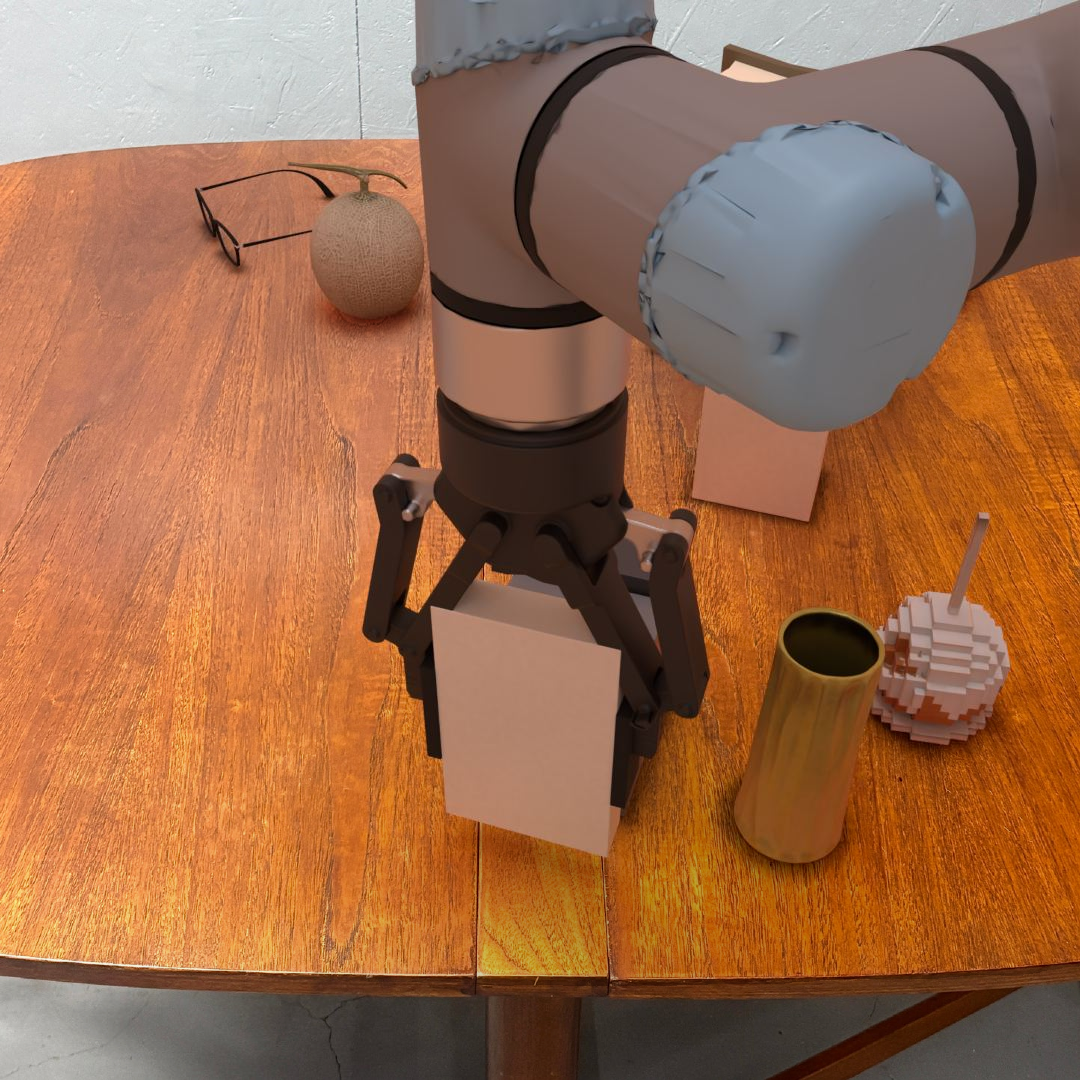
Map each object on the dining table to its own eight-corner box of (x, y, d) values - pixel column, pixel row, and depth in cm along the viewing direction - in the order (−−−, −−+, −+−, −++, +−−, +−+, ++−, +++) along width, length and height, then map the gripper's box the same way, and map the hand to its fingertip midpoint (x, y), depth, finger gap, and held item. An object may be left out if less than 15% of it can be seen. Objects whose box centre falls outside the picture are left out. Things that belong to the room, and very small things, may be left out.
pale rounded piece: (858, 649, 76) (907, 466, 66) (979, 666, 75) (1047, 482, 65) (861, 738, 70) (915, 551, 61) (993, 757, 69) (1070, 570, 60)
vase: (859, 856, 64) (916, 677, 55) (754, 874, 63) (794, 695, 54) (817, 770, 68) (863, 592, 59) (718, 786, 67) (750, 607, 58)
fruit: (455, 302, 112) (449, 151, 103) (374, 349, 105) (359, 192, 95) (376, 271, 117) (363, 124, 107) (294, 315, 110) (272, 162, 100)
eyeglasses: (193, 218, 126) (186, 183, 124) (329, 191, 132) (325, 157, 129) (238, 280, 115) (231, 243, 112) (384, 248, 121) (381, 212, 118)
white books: (808, 522, 86) (843, 354, 77) (691, 498, 88) (711, 331, 79) (820, 475, 91) (854, 311, 82) (708, 453, 93) (729, 291, 84)
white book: (607, 858, 59) (621, 651, 50) (445, 812, 62) (429, 606, 52) (620, 820, 61) (635, 614, 52) (462, 778, 63) (450, 572, 54)
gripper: (828, 381, 45) (757, 761, 59) (323, 296, 50) (369, 663, 64) (799, 490, 39) (728, 880, 53) (234, 382, 44) (306, 763, 59)
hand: (532, 762), depth 59 cm, fingers closed on white book, 9 cm apart
